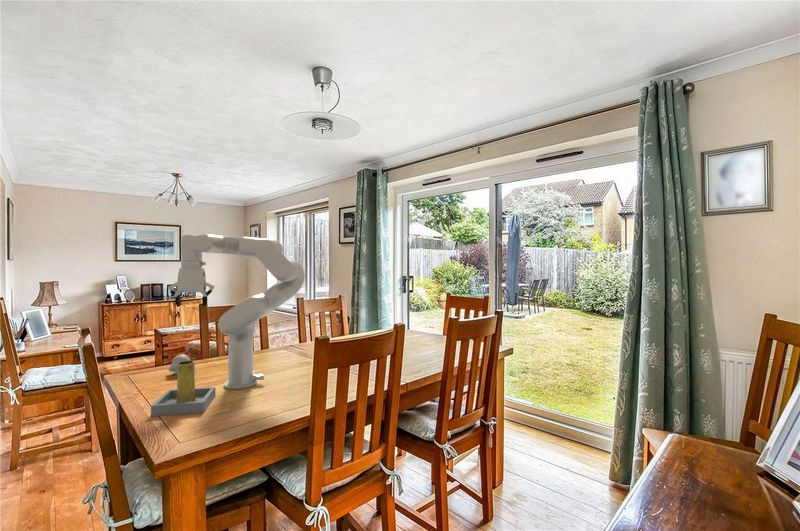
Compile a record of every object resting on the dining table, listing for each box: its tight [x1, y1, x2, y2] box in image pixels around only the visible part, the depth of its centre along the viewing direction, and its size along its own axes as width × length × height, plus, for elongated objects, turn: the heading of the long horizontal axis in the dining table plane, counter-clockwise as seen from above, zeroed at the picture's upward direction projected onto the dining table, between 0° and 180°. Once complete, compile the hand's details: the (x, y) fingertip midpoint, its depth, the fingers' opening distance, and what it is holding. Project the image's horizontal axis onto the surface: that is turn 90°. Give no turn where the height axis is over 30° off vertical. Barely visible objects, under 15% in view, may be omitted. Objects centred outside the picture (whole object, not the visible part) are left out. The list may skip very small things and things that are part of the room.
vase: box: [176, 360, 196, 403], centre depth 136 cm, size 6×6×14 cm
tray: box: [150, 386, 216, 417], centre depth 136 cm, size 16×16×4 cm
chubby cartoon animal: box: [168, 354, 197, 376], centre depth 172 cm, size 7×12×8 cm, turn 75°
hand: (191, 306), depth 158 cm, fingers open, 9 cm apart
